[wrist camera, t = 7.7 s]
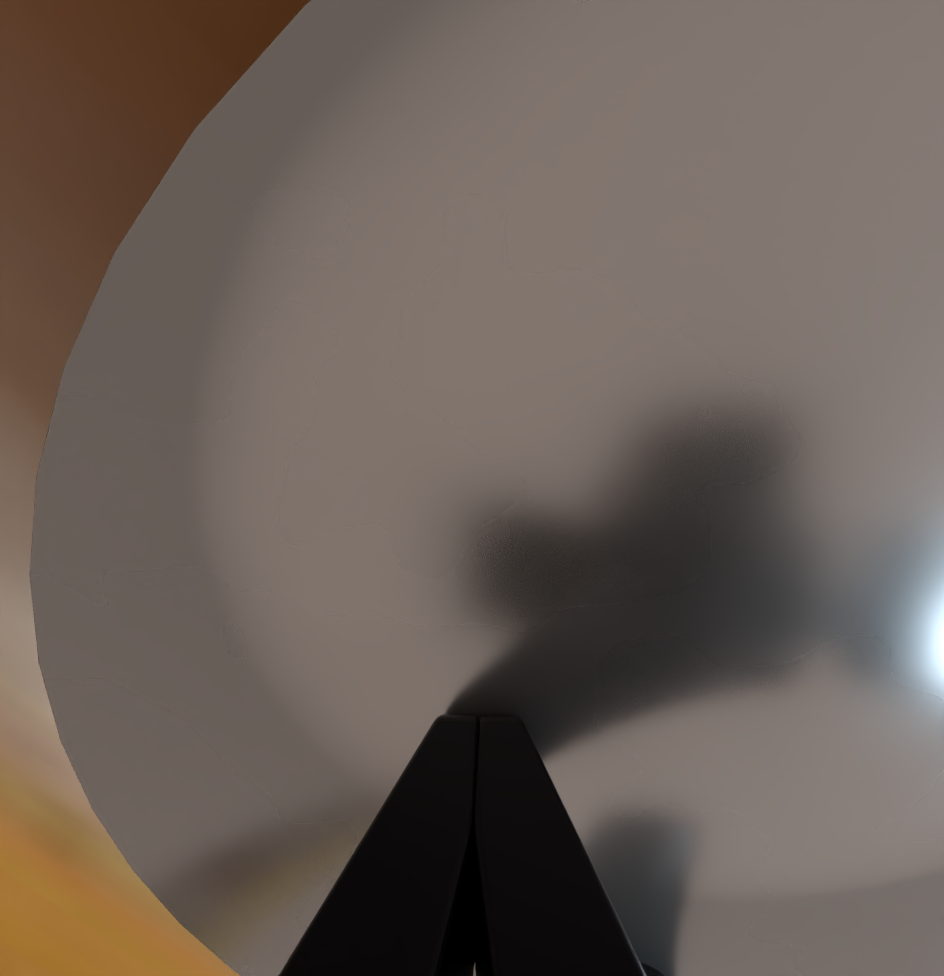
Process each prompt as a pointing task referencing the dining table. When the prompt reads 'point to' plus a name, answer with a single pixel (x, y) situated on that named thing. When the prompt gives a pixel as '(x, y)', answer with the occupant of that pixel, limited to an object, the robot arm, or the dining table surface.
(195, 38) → the dining table surface
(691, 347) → the lid
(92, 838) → the dining table surface
